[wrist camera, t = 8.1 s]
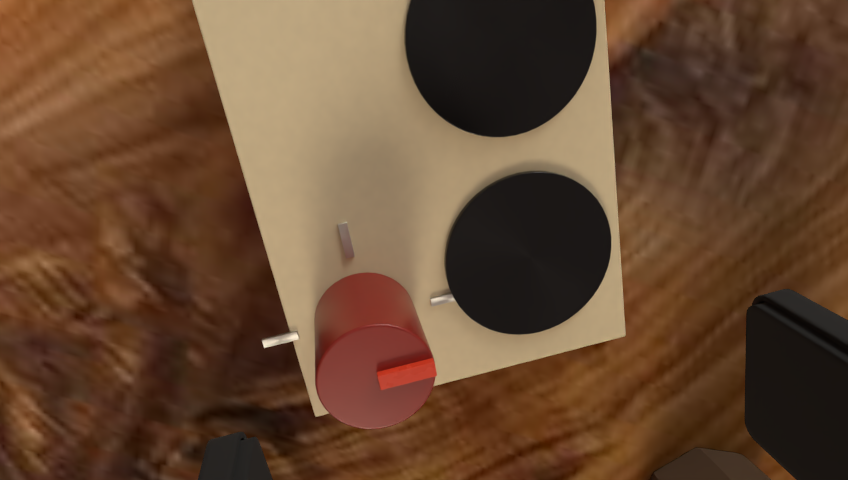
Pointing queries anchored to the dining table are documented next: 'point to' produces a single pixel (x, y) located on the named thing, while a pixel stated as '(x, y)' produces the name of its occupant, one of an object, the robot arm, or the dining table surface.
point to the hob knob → (371, 352)
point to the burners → (525, 191)
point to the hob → (388, 170)
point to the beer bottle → (710, 467)
